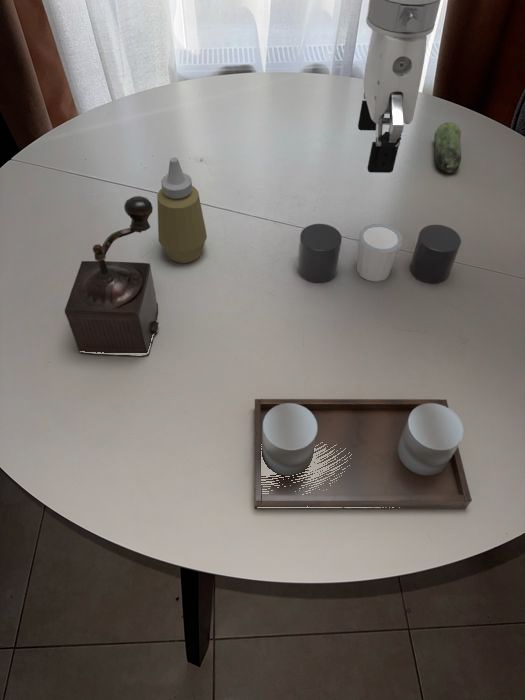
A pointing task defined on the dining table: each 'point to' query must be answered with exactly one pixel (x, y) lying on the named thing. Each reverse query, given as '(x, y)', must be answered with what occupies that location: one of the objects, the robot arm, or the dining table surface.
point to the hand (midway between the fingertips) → (374, 149)
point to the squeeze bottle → (180, 216)
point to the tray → (361, 453)
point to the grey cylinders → (426, 264)
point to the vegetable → (448, 147)
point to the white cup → (377, 251)
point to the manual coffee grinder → (115, 296)
